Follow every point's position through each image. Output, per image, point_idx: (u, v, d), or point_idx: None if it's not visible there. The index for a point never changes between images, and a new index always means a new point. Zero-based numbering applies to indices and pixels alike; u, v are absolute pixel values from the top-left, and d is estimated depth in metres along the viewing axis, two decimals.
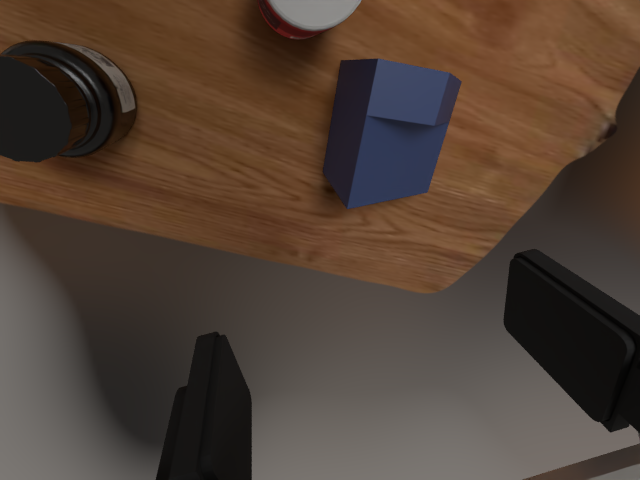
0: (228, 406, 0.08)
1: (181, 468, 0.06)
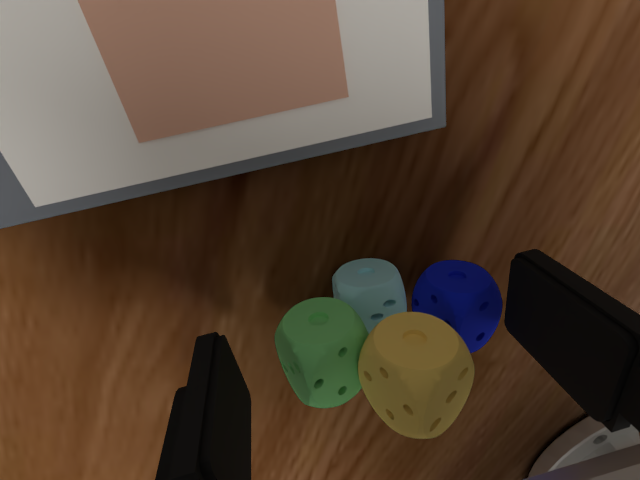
0: (227, 407, 0.08)
1: (180, 469, 0.06)
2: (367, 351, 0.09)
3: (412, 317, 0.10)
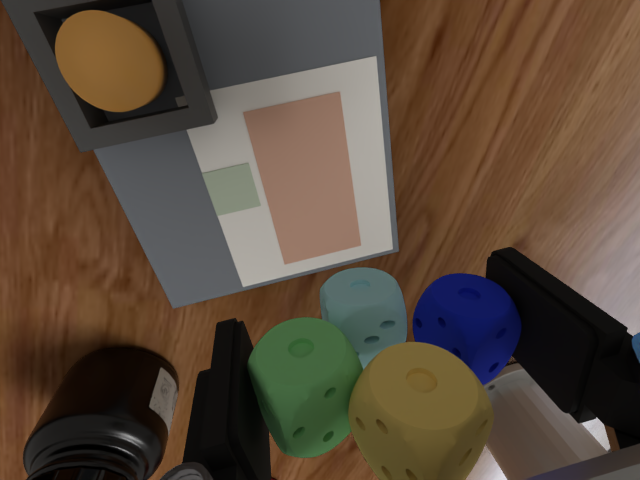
0: (248, 387, 0.09)
1: (211, 440, 0.07)
2: (361, 395, 0.07)
3: (417, 350, 0.08)
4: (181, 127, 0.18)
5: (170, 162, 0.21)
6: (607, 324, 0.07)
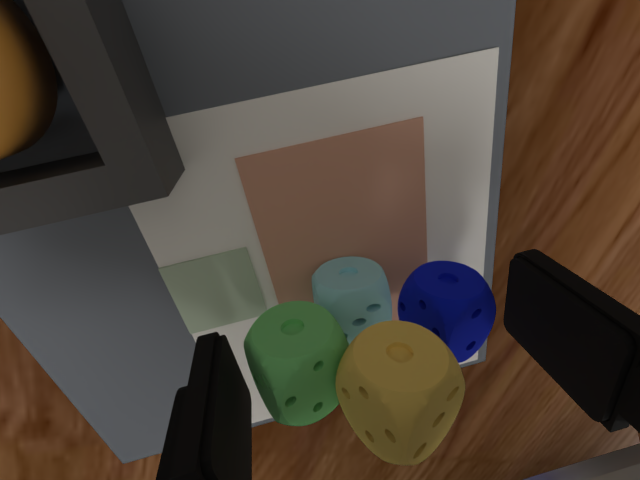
0: (228, 406, 0.08)
1: (181, 468, 0.06)
2: (345, 366, 0.08)
3: (397, 327, 0.09)
4: (92, 207, 0.08)
5: (96, 251, 0.11)
6: None
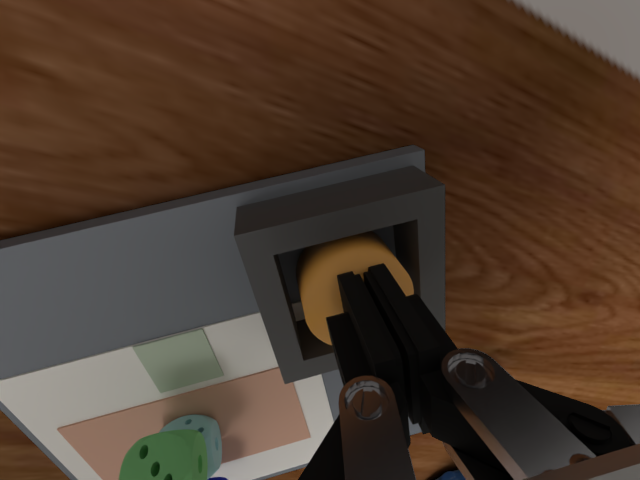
0: None
1: (381, 357, 0.08)
2: None
3: None
4: (278, 354, 0.13)
5: (214, 291, 0.14)
6: (424, 342, 0.08)
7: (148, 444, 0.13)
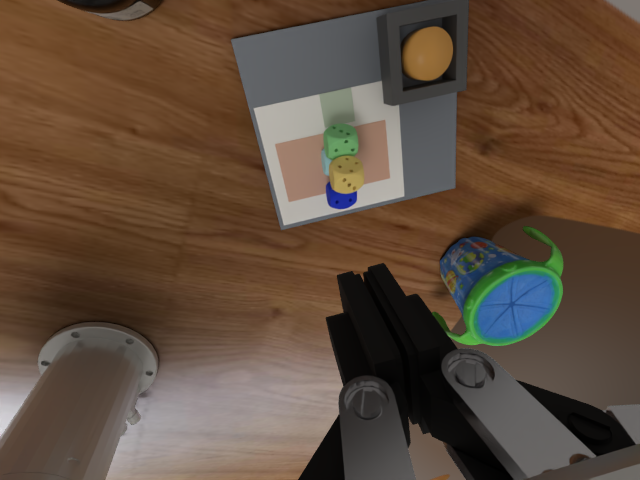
0: None
1: (381, 358, 0.08)
2: None
3: None
4: (393, 85, 0.29)
5: (359, 65, 0.31)
6: (424, 342, 0.08)
7: (335, 125, 0.30)
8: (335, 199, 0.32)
